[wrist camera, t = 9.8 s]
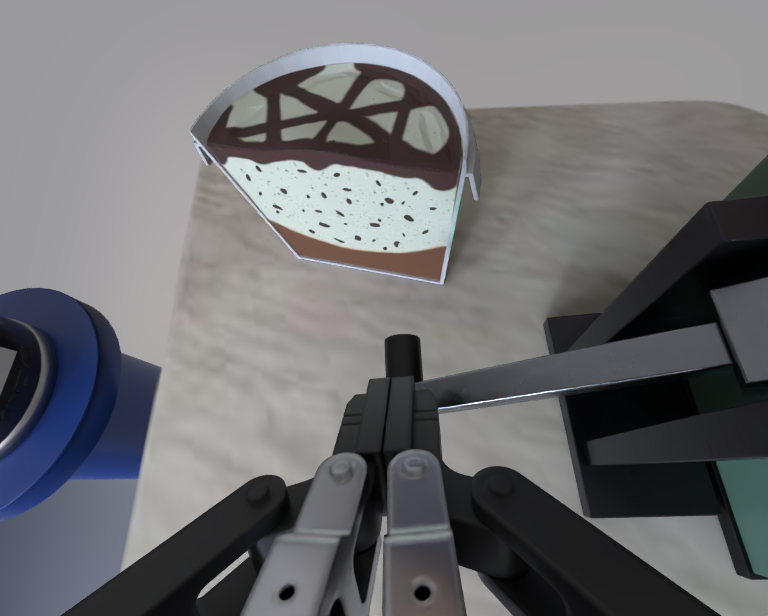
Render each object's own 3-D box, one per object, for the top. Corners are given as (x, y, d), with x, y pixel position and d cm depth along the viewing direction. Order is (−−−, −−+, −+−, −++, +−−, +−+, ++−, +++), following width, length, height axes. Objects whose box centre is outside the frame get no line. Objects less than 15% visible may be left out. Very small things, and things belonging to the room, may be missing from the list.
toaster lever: (413, 473, 15) (372, 474, 13) (405, 349, 17) (369, 336, 15) (958, 449, 8) (1023, 446, 6) (833, 234, 10) (856, 184, 8)
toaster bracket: (583, 516, 17) (860, 606, 6) (543, 324, 21) (660, 132, 9) (708, 513, 17) (1323, 608, 5) (644, 315, 20) (912, 96, 8)
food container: (489, 201, 24) (512, 36, 15) (469, 289, 22) (482, 161, 13) (309, 178, 27) (237, 30, 18) (276, 254, 25) (177, 130, 16)
